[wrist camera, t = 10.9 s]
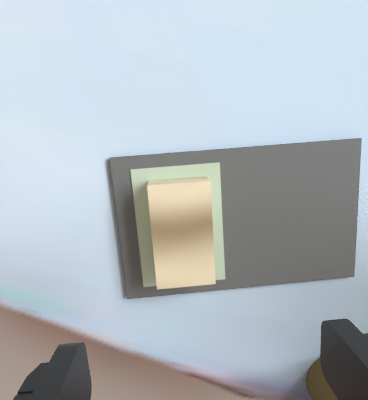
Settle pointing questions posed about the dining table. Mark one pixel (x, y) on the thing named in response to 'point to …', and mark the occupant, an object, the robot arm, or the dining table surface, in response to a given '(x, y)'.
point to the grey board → (250, 212)
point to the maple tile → (182, 231)
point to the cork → (318, 383)
